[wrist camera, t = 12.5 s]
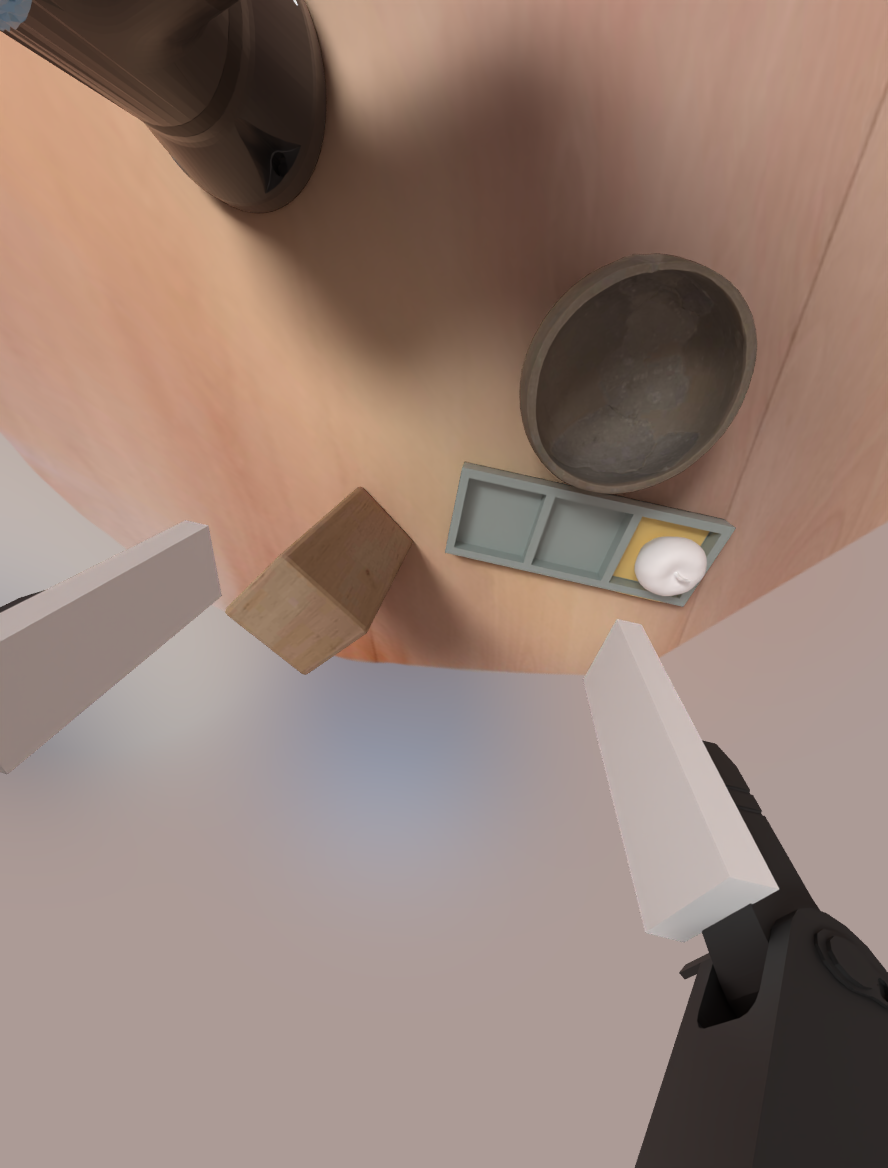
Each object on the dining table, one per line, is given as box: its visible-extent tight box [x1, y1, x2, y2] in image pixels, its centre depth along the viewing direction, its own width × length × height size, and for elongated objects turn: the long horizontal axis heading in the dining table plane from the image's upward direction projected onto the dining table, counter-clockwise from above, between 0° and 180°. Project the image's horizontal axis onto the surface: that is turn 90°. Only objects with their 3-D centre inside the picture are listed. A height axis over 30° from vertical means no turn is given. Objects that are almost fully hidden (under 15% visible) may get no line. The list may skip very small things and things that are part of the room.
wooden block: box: [226, 487, 412, 675], centre depth 42 cm, size 10×10×20 cm
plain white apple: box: [635, 536, 707, 596], centre depth 41 cm, size 7×7×8 cm
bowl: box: [520, 254, 757, 494], centre depth 33 cm, size 17×18×10 cm
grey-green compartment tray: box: [445, 462, 736, 607], centre depth 45 cm, size 11×31×3 cm, turn 80°
